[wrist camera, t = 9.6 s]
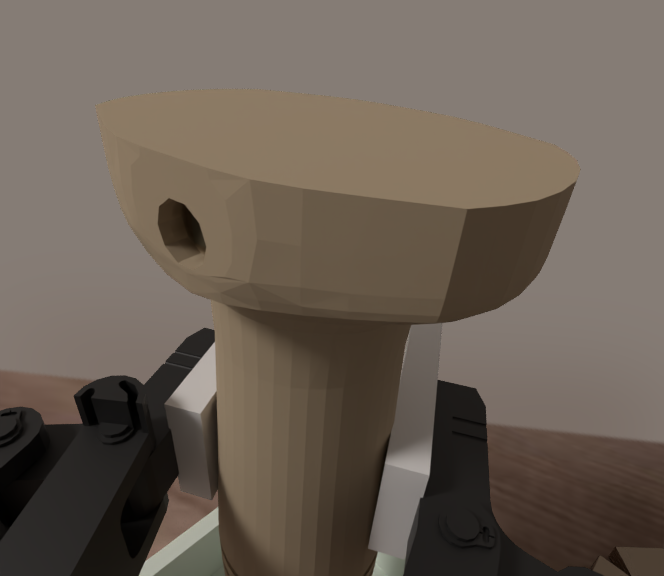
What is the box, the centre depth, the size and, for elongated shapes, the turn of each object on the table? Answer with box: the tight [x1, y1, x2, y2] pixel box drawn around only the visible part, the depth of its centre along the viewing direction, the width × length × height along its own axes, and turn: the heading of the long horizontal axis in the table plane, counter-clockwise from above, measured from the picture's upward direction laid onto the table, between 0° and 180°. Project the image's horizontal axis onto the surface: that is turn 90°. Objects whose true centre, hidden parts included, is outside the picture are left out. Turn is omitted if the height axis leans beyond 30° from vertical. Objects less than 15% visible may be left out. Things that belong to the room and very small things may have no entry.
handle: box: [95, 89, 580, 576], centre depth 10 cm, size 5×6×15 cm
